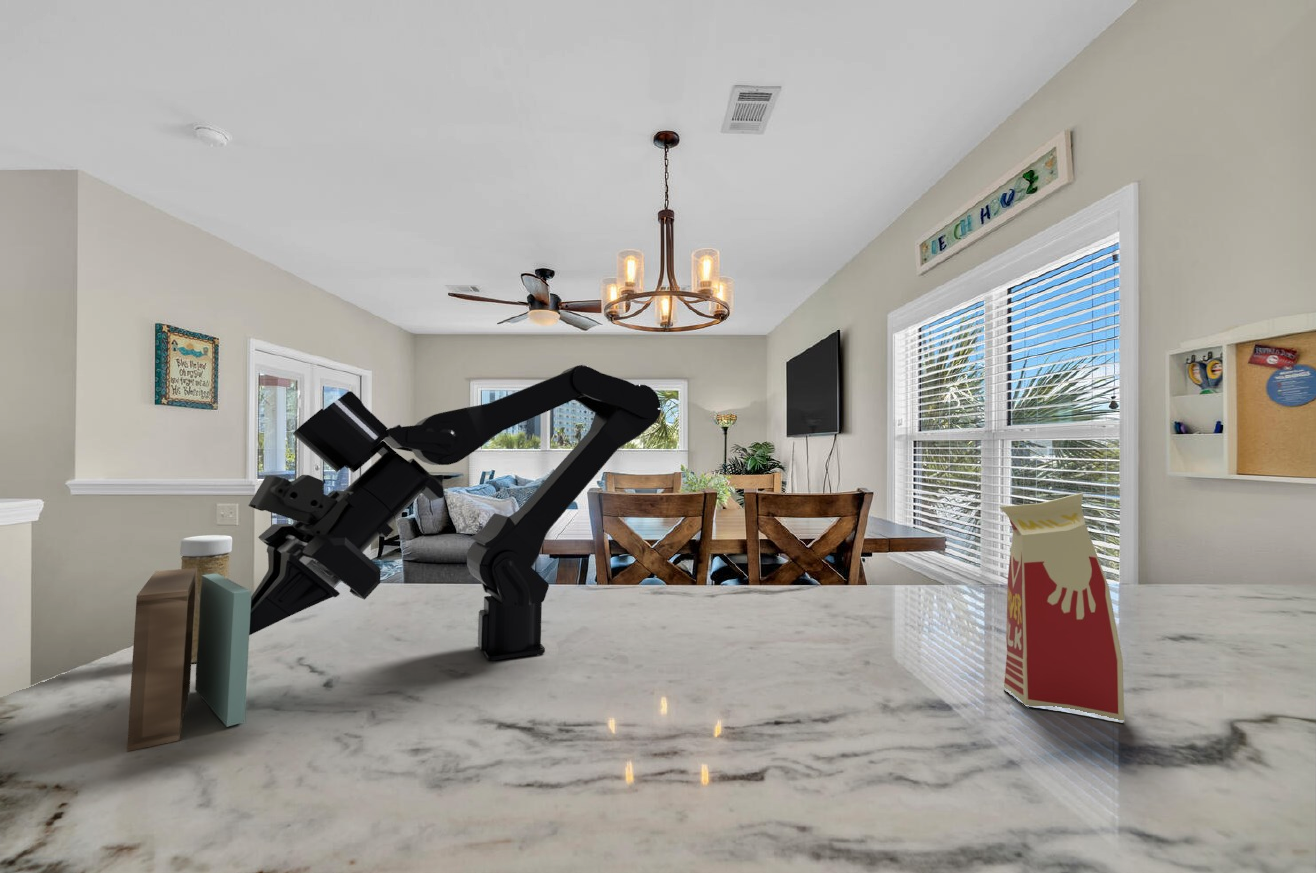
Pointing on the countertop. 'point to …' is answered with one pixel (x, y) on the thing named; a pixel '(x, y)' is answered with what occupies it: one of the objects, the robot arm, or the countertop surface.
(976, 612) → the countertop surface
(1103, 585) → the milk carton
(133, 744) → the cabinet
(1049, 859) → the countertop surface
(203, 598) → the door
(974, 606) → the countertop surface
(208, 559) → the sprinkles bottle
